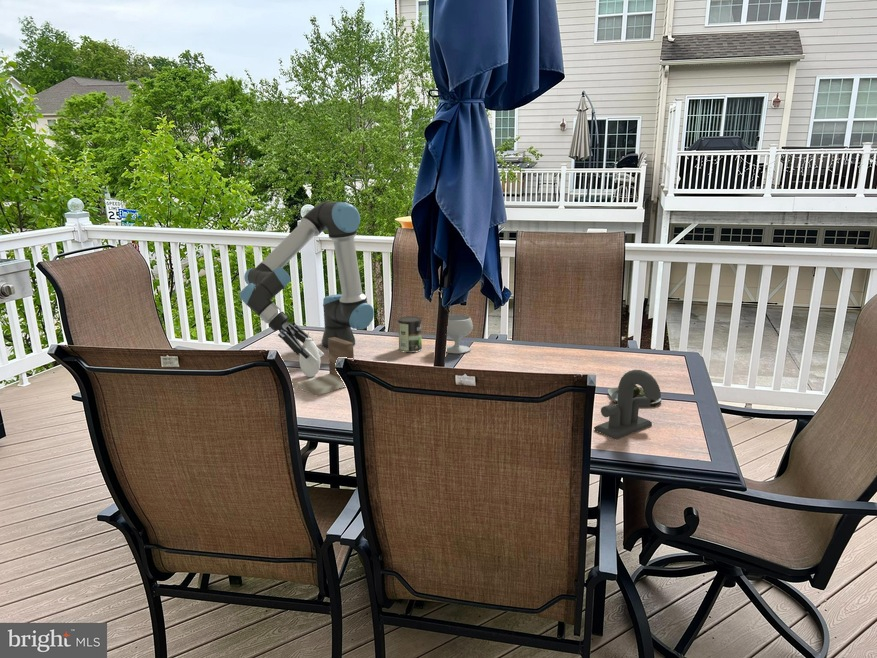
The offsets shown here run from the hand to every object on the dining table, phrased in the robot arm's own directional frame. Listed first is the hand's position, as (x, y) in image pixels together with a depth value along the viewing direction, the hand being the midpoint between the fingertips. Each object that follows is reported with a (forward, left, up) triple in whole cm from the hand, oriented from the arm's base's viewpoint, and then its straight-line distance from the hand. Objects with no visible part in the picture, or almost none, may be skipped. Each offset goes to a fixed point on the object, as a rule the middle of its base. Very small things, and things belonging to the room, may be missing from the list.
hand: (318, 359), depth 236 cm
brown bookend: (+4, +10, -7) cm, 13 cm away
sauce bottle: (+2, -3, -7) cm, 8 cm away
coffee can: (-49, -3, -7) cm, 50 cm away
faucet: (-40, +110, -7) cm, 118 cm away
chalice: (-63, +12, -7) cm, 64 cm away
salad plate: (-65, +96, -8) cm, 116 cm away
